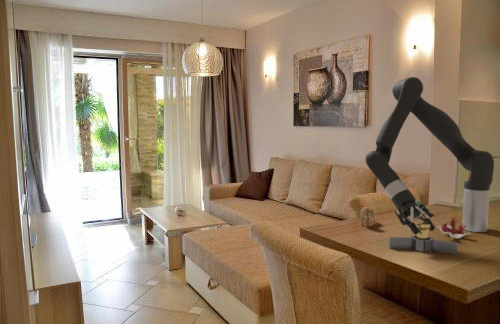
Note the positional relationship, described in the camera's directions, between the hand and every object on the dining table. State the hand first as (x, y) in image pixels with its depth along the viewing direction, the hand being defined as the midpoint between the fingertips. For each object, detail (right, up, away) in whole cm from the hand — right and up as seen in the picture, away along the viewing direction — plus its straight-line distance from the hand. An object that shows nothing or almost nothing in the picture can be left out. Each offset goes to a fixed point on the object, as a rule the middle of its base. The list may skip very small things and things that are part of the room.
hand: (425, 231), depth 140 cm
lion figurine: (-10, -3, +35) cm, 36 cm away
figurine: (+18, -5, +16) cm, 24 cm away
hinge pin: (0, -6, +2) cm, 7 cm away
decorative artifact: (+21, -1, +55) cm, 59 cm away
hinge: (-1, -7, 0) cm, 7 cm away
